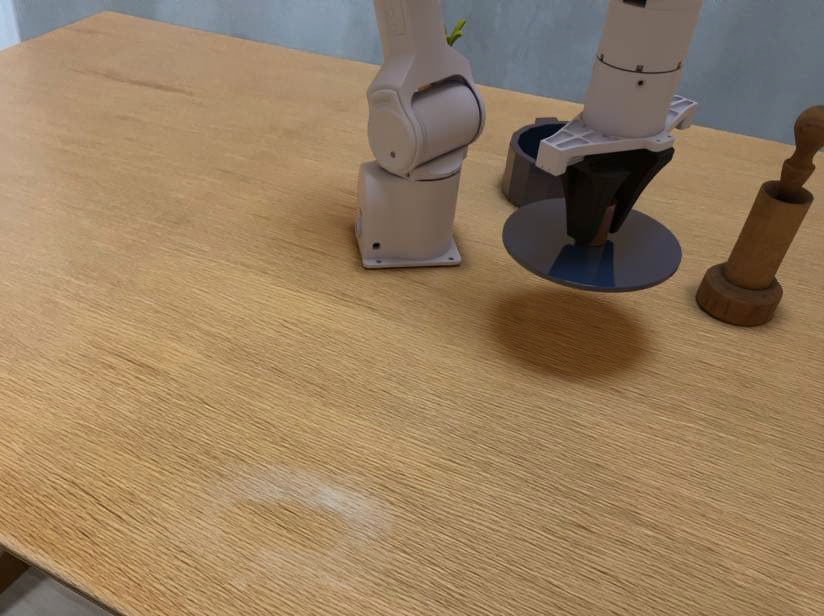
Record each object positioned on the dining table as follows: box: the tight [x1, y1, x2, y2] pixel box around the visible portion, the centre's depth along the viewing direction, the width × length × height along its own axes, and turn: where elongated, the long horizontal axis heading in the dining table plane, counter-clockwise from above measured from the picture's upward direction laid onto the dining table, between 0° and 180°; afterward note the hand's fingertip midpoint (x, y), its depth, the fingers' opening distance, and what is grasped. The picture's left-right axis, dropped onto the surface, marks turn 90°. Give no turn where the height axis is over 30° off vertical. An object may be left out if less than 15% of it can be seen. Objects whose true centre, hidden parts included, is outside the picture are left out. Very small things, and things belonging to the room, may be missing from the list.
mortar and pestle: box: [696, 104, 824, 326], centre depth 68 cm, size 7×6×18 cm
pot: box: [501, 116, 571, 209], centre depth 88 cm, size 13×18×5 cm
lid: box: [501, 197, 683, 294], centre depth 65 cm, size 14×14×5 cm
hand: (591, 233), depth 65 cm, fingers closed on lid, 2 cm apart
